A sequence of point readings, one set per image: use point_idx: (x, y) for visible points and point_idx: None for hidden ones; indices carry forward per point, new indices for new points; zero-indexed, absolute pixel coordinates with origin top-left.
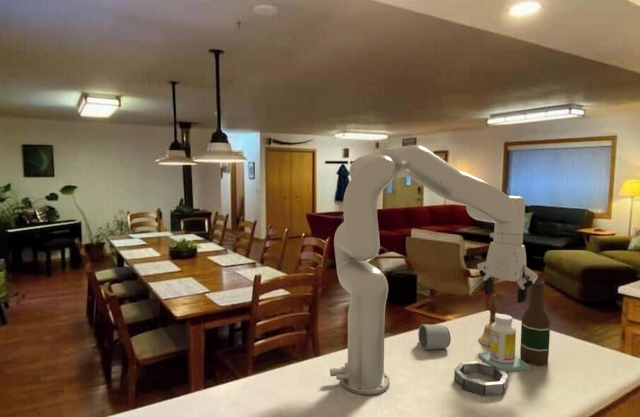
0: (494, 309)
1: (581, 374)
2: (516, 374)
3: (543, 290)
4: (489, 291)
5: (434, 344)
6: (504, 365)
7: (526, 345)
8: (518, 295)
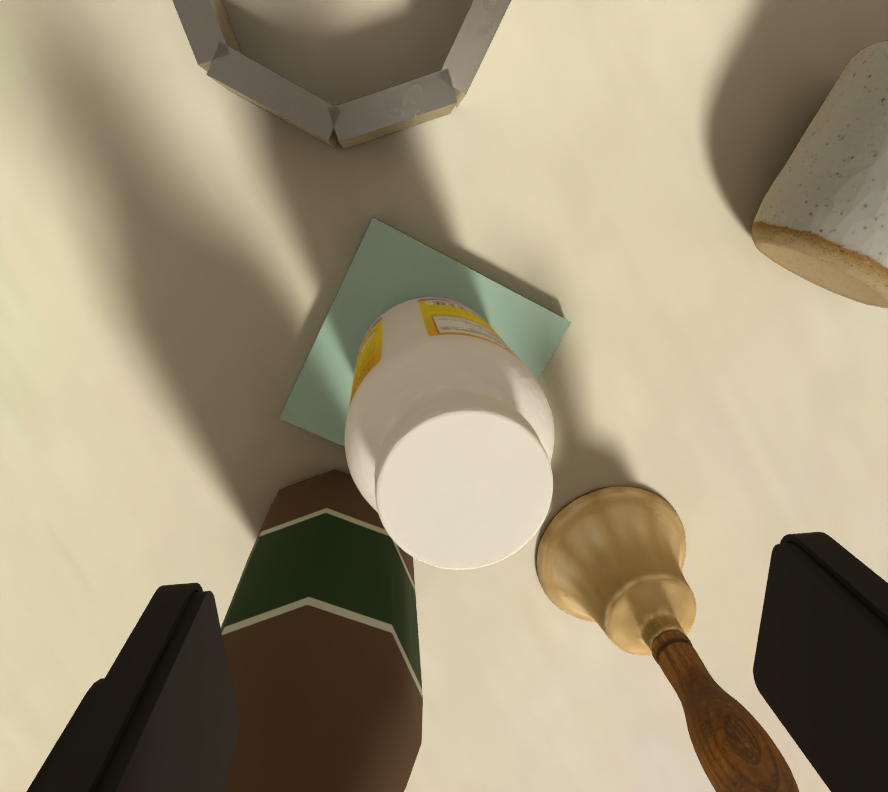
0: (699, 714)
1: (97, 578)
2: (289, 288)
3: None
4: (788, 632)
5: (826, 104)
6: (371, 296)
7: (335, 521)
8: (136, 678)
